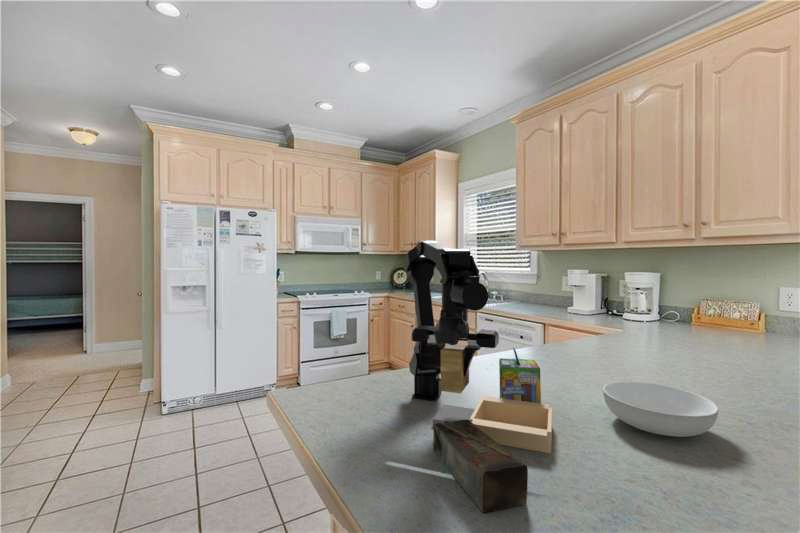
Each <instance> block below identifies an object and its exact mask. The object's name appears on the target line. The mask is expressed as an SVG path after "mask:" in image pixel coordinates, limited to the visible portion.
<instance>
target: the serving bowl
mask: <svg viewBox="0 0 800 533" xmlns="http://www.w3.org/2000/svg"><path fill="white" fill-rule="evenodd" d="M602 392H603V398H604V402H605V404H606V406H607V407H608V408H609V410H610V412H611V413H612V414H613V415H614V416H616V417H617V418H618V419H619V420H621V421H622V422H623V423H625V424H627V425H630V426H632V427H634V428H636V429H639V430H642V431H645V432H647V433H648V432H649V433H651V434H655V435H661V436H668V437H677V438H679V437H682V438H685V437H694V436H698V435H702V434H704V433H706V432H708V431H709V430H710V429H711V428H713V426H714V425H715V423H716V422H717V419H718V415H719V411H720V409H719V407H718V406H717V405H716V403H715V402H713V401H711V400H710V399H709V398H707V397H704V396H702V395H700V394H697V393H694V392H691V391H688V390H685V389H681V388H679V387H674V386H669V385H665V384H659V383H654V382H653V383H652V382H645V381H631V380H630V381H627V380H626V381H625V380H624V381H614V382H610V383H606V384H605V385H604V386H603V387H602Z"/></svg>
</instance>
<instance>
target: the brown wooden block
mask: <svg viewBox="0 0 800 533" xmlns="http://www.w3.org/2000/svg"><path fill="white" fill-rule="evenodd" d="M467 345H468V343H461V342H458V343H457V344H456V345H450V344H447V345H446V346H445V347H444V348H443V349H441V374H440V378H441V392H445V393H446V392H447V393H453V394H454V393H455V394H460V395H461V394H462V393H463V392H464V390H465V389H466V387H467V386H468V384H469V383H470V369H469V370H468V372H467V375H466V376H464V362H465V347H466V346H467Z"/></svg>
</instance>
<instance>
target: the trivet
mask: <svg viewBox="0 0 800 533" xmlns="http://www.w3.org/2000/svg"><path fill="white" fill-rule="evenodd" d="M474 410H475V408H471V407H470V408H469V407H465V406H457V405H449V404H443V405H442V406H441V408H440V409H439V410H438V411H437V413H436V414H435V415H434V416H433V417H432V427H434V424H436V423H441V422H442V421H445V420H447V421H458V420H467V419H468V420H470V417H471V416H472V414H473V412H474Z"/></svg>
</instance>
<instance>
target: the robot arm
mask: <svg viewBox="0 0 800 533" xmlns="http://www.w3.org/2000/svg"><path fill="white" fill-rule="evenodd" d="M435 269H436V270H437V271H438V273H439V275H440V277H441V278H440V280H439V283H440V284H441V310H440V314H439V315H440V316H439V320H438V321H437V322H436V324H435V319H434V309H433V302H432V292H431V285H430V284H431V281H432V279H433V277H434V275H435ZM403 270H404V271H405V276H406V279H407V281H408V282H409V284H410V285H411V286H412V288H413V297H414V298H413V299H414V307H415V315H416V316H415V318H416V326H417V327H415V328H413V330H412V331H411V341H412V342H415V344H414V346H413V354H412V357H411V359H410V362H409V366H408V367H409V372H410V373H411V375H413V378H414V382H413V383H414V386H413V387H414V392H413V394H412V395H411V397H412V398H414V399H421V400H427V401H436V400H437V399H438V398H439V396H441V394H442V391H441V377H440V375H441V349H443V348H444V347H445V346H446V344H447V345H448V344H450V345H456V344H457V343H459V341H463V342H466V344H468V345H467V346H466V347H465V362H464V376H466V375H467V372H468V370H469V371H470V367H471V363H472V361H473V358H474V356H475V354H476V352H477V351H480V350H481V348H486V349H494V348H495V349H496V347H497V346H498V345H499V342H500V340H499V339H500V337H499V336H500V334H499V332H498V331H497V330H494V329H492V330H491V329H479V331H478V332H470V326H469V321H468V313H469V310H470V311H475V312H477V311H480V310H481V309H484V307H485V306H486V305H487V303H488V300H489V292H488V290H487V287H486V286H485V284H483V283H481V282H480V278H481V277H480V271H479V268H478V266H477V263H476V262H475V259H474V257H473V254H472V252H471V250H469V249H468V248H450V247H448V246H445V245H442V244H440V243H438V242H437V241H436V240H420V241H417V244H416V245H415V246H414V247H413V248H412V249H410V250H409V251H408V252H407V253H406V255H405V257H404V260H403Z"/></svg>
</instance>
